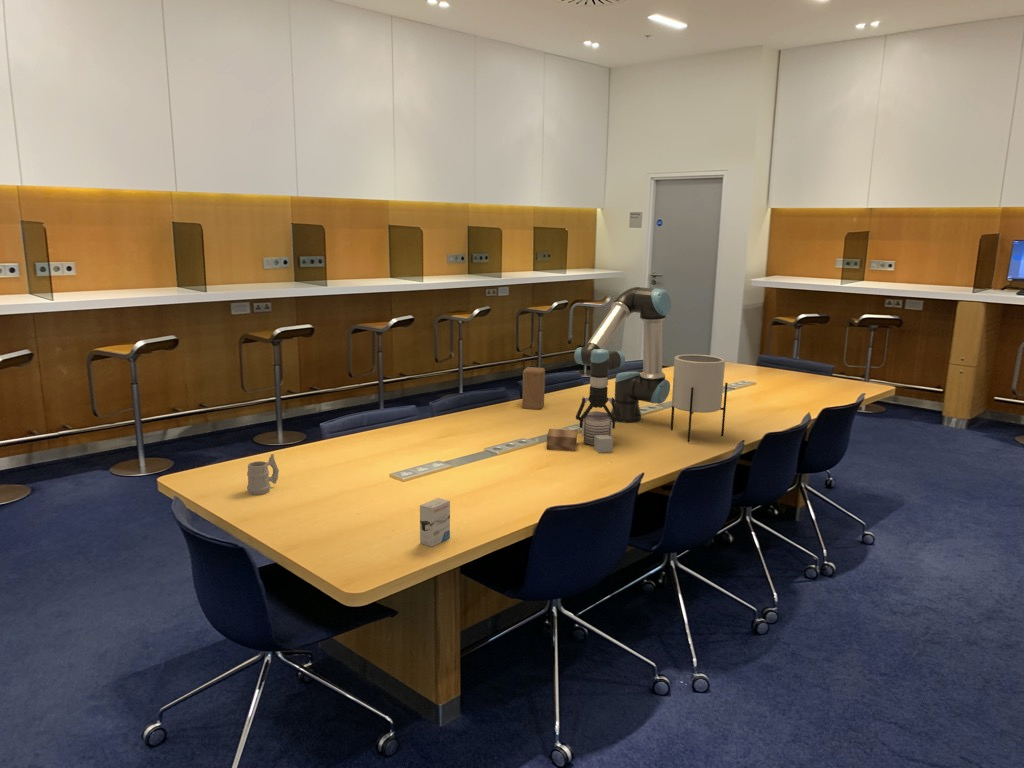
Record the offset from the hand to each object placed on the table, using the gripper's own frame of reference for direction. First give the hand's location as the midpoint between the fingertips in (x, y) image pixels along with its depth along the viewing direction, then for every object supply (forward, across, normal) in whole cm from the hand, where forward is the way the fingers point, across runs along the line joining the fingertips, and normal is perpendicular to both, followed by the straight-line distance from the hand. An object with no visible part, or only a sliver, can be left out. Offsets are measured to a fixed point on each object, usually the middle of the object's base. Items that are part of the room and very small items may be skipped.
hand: (596, 435), depth 329 cm
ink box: (+2, +56, +109) cm, 123 cm away
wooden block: (+4, +27, -64) cm, 69 cm away
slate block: (+3, -2, +11) cm, 12 cm away
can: (+3, 0, 0) cm, 3 cm away
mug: (+2, +120, +70) cm, 139 cm away
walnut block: (+3, +15, +6) cm, 17 cm away
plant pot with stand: (+4, -45, -15) cm, 47 cm away
